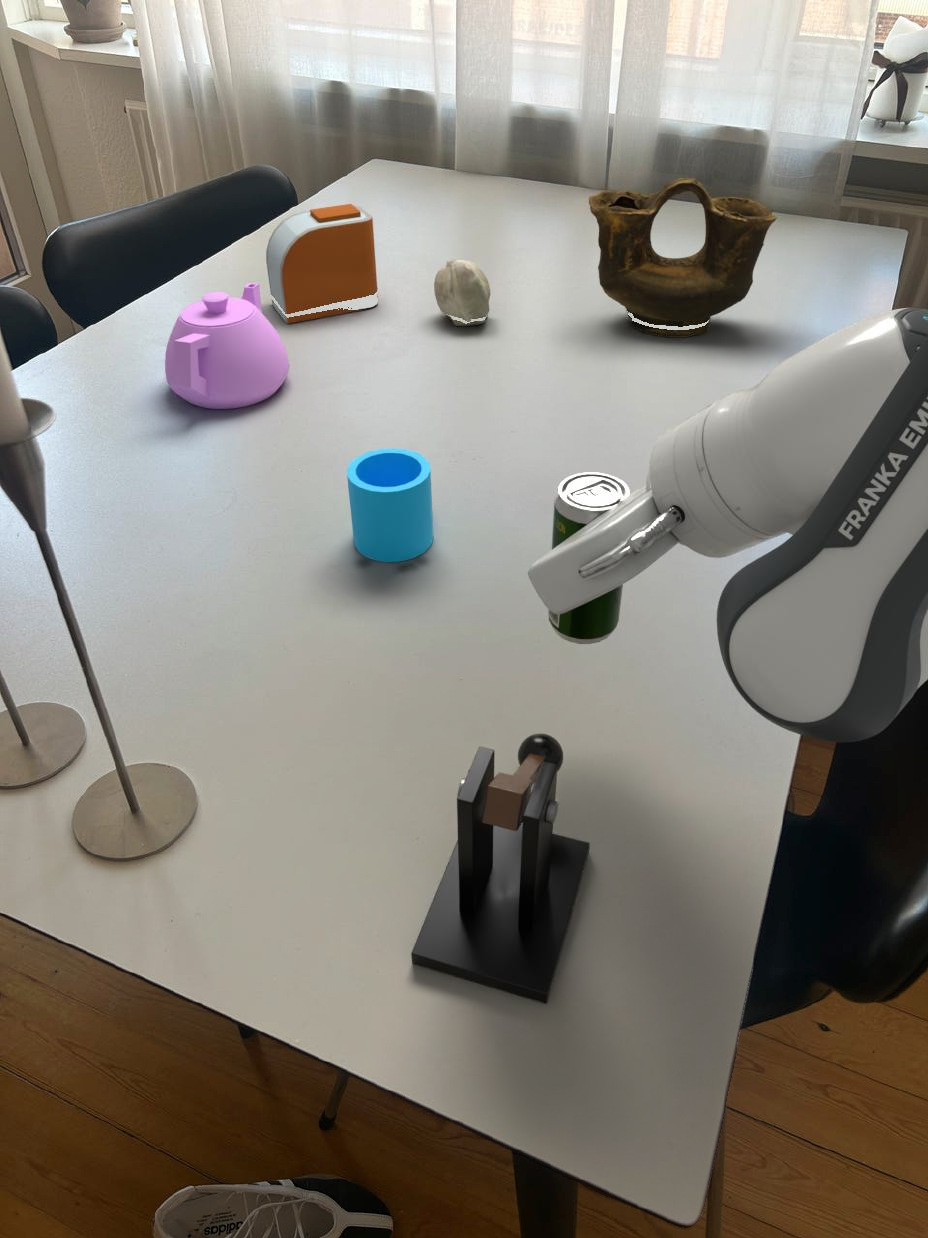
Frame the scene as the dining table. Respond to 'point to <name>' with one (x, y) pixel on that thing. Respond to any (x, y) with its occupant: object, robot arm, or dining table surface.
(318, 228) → the orange and white toaster
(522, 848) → the bracket
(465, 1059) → the dining table surface
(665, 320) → the pottery vessel
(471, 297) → the garlic bulb
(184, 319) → the teapot
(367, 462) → the mug
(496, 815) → the lever
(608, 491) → the green drink can
